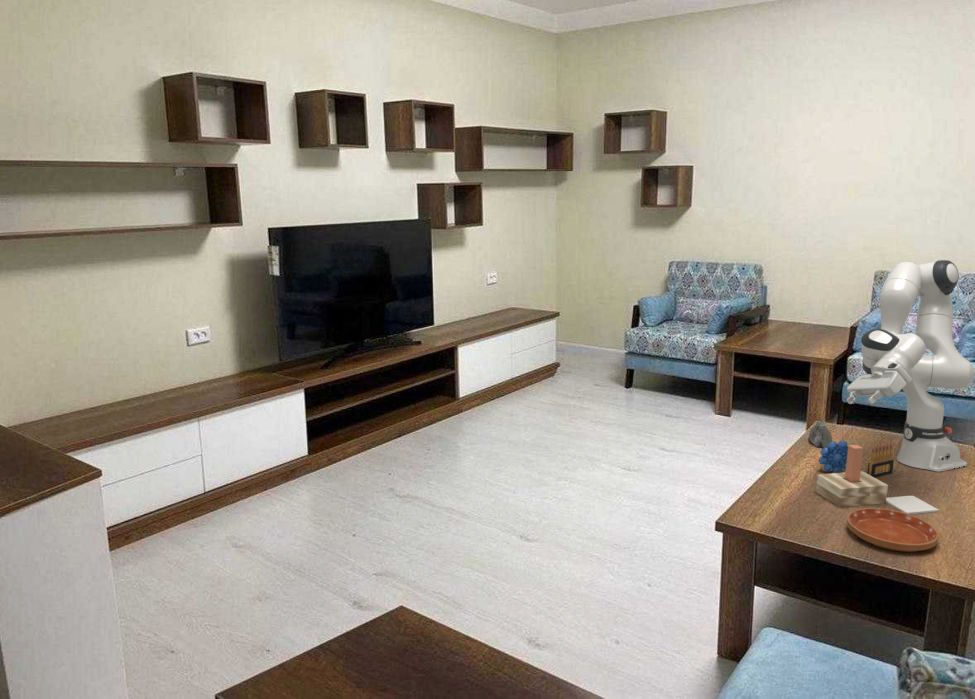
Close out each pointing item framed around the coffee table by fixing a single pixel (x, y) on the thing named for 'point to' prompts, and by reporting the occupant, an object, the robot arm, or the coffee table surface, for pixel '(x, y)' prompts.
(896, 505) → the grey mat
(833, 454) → the grapes
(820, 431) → the mineral rock
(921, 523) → the saucer
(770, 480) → the coffee table surface
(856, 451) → the wooden block
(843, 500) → the cream block with hole
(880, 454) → the ammunition clip
